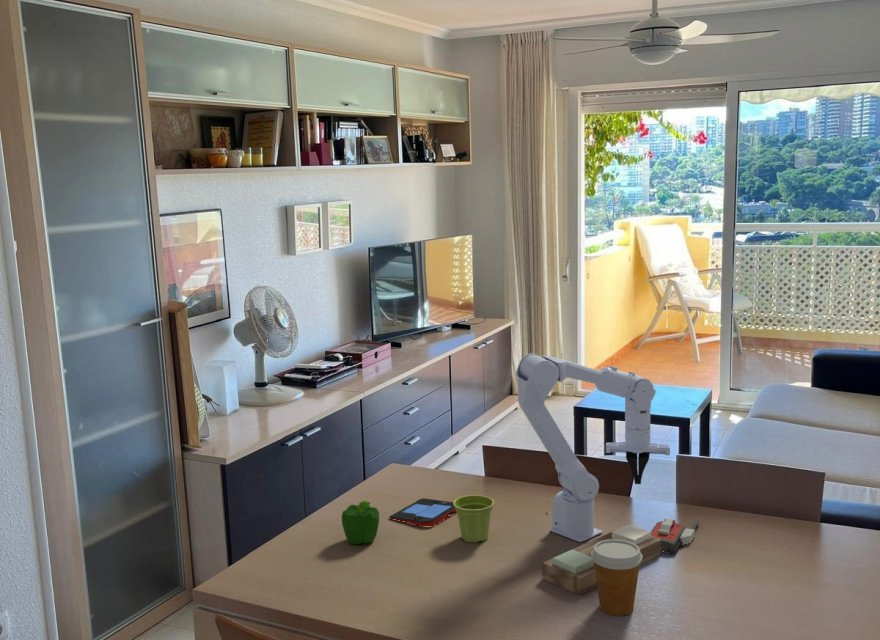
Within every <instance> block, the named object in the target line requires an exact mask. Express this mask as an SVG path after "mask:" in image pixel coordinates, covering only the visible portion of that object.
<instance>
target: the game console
mask: <svg viewBox="0 0 880 640" xmlns="http://www.w3.org/2000/svg"><path fill="white" fill-rule="evenodd" d="M453 502H454V501H448V500H447V501H446V500H441V499H430V498H425V497H424V498H420V499H418V500H417V501H415V502H413V503H411V504H410V505H409V504H408V505H407V506H405V507H404V508H402V509H400V510H399V511H397V512H395V513H393V514H391V515H390V516H389V518H391V519H396V520H400V521H405V522H409V523H412V524H416V525H421V526H434V525H435V524H437V523H438V522H440V521H442V520H443V519H445V518H447V517H449V516H448V515H450V514H453V513H455V512H457V511H456V508H455V507H454V505H453ZM455 514H456V513H455ZM449 518H450V517H449ZM391 519H390V520H391ZM447 519H448V518H447ZM445 520H446V519H445ZM442 522H443V521H442ZM440 523H441V522H440ZM416 525H415V526H416ZM437 525H438V524H437ZM435 526H436V525H435ZM435 526H434V527H435Z"/></svg>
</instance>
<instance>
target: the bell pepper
mask: <svg viewBox="0 0 880 640" xmlns="http://www.w3.org/2000/svg"><path fill="white" fill-rule="evenodd" d="M370 504H371V502H370V501H369V500H362V501H360V502H359V504H350V505H349V506H348V507H346V509H345V510H343V511H342V514H341V526H342V528H343V532H344V535H345V538H346V539H347V541H348V543H350V544H351V545H362V544H370V543H373V542H374V541H375V539H376V536H377V535H378V534H377V533H378V530H379V529H378V528H379V525H380V524H379V523H380V511H379V510H378V508H377V507H374V506H373V507H372V506H371V505H370Z"/></svg>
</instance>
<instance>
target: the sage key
mask: <svg viewBox="0 0 880 640" xmlns="http://www.w3.org/2000/svg"><path fill="white" fill-rule="evenodd" d="M573 549H574V548H572V549H570V550H568V551H565V552H562V553H561V554H558V555H557V556H554V557H552V558H553V565H554V566H556V567H559V568H561V569H563V570H566V571H568V572H570V573H573V574H575V575H576V574H578V573H580V572H583V571H585V570H587V569H589V568H591V567H593V566H595V565H594V561H593V558H592V557H590V556H588V555H585V554H583V553H580V552H578V551H575V550H573Z"/></svg>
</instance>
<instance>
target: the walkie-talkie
mask: <svg viewBox="0 0 880 640" xmlns="http://www.w3.org/2000/svg"><path fill="white" fill-rule="evenodd" d="M699 523H700V519H698V518H695V520H694V521H693V523H692V524H691V526H690V528H688V527H687V528H686V526H685V525H684V524H682V523H677V522H676V520H675V519H671V518H670V519H669V518H664V520H663V521H662V520H660V521H657V522H656V523H655V525H654V526H653V528H652V529H651V531H650V532H651V536H653V537H656V538H659V539H662V542H661V551H664V552H669V553H668V554H670V553H672V554H675V553H676V552H677V551H678V549H679V548H680V546H681V545H683V546H685V545H684V544H687V543H692V542H691V541H693V540H694V539H695V538H696V528H698V527H697V526H698V525H699ZM694 537H695V538H694ZM693 538H694V539H693ZM687 545H688V544H687ZM664 552H663V553H664Z"/></svg>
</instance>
